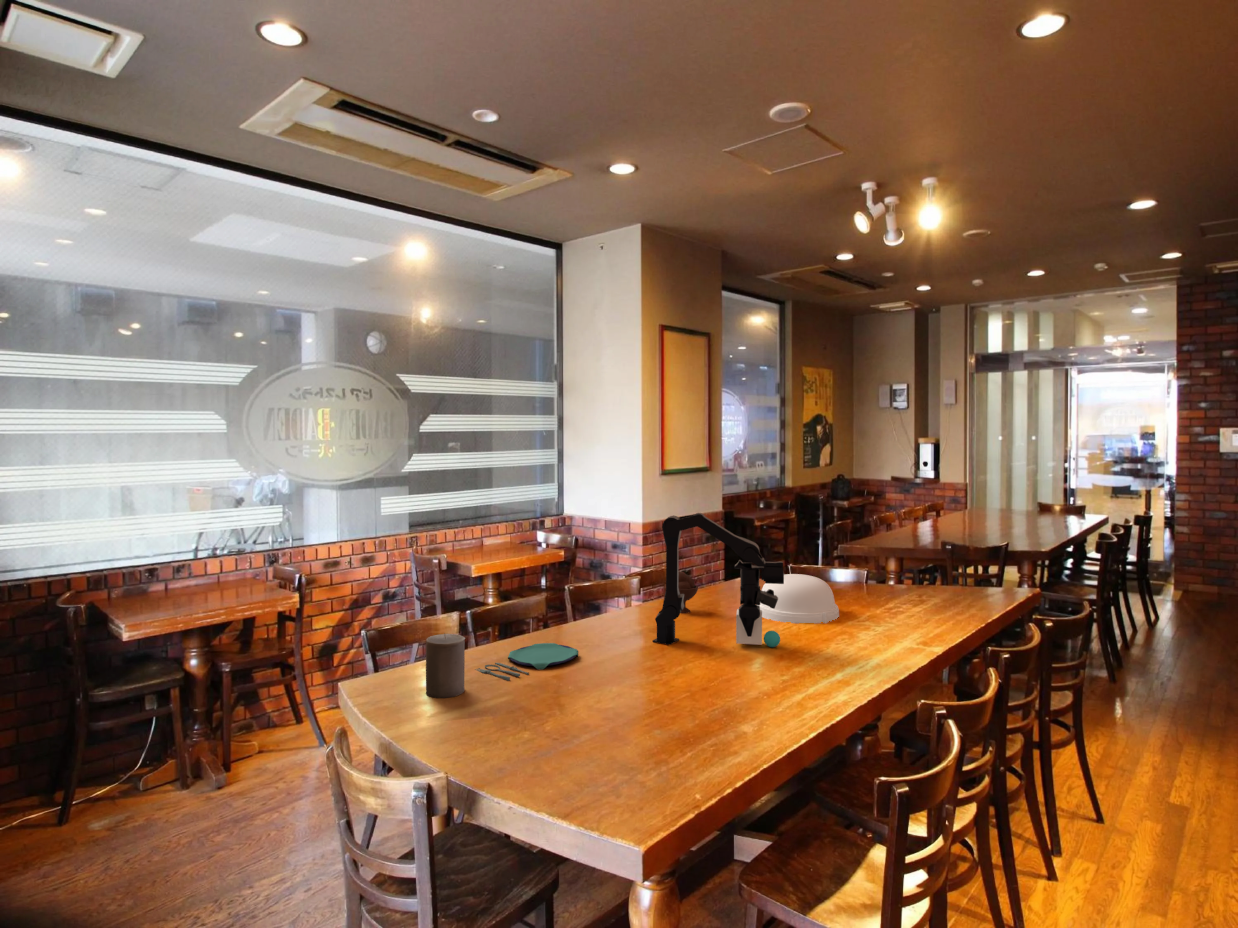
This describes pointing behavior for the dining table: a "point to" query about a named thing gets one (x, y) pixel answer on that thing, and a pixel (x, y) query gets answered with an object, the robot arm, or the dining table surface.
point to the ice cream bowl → (686, 588)
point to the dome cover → (801, 600)
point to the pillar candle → (445, 665)
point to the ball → (771, 638)
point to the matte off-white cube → (742, 635)
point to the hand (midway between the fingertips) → (749, 632)
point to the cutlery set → (535, 658)
